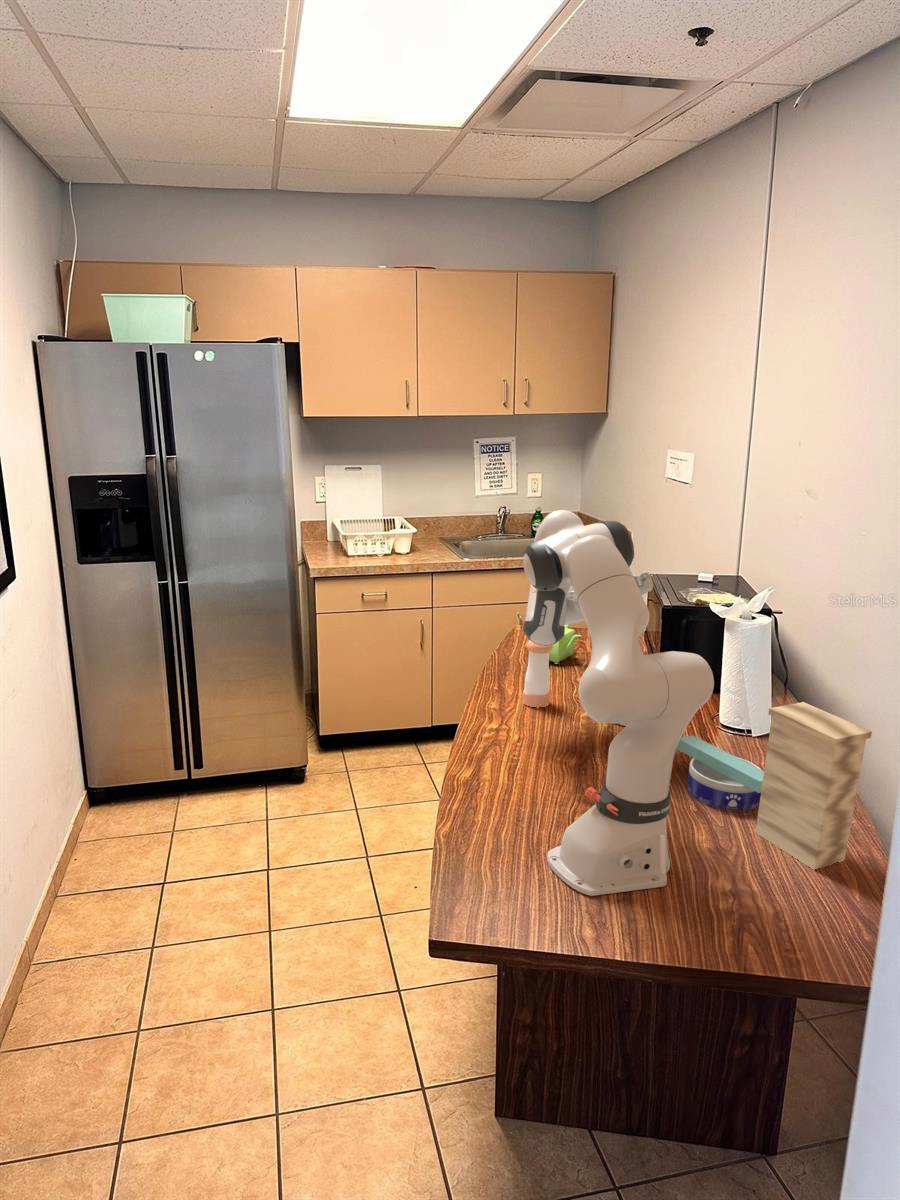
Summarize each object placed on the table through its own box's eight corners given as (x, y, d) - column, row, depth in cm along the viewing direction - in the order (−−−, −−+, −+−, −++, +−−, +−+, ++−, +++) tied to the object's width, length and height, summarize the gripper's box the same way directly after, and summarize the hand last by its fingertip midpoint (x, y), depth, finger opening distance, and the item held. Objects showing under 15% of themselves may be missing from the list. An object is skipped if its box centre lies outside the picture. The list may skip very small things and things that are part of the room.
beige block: (814, 872, 147) (836, 739, 141) (751, 831, 160) (769, 708, 154) (848, 861, 151) (871, 731, 145) (784, 823, 164) (803, 701, 158)
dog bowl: (748, 779, 183) (752, 755, 181) (771, 814, 168) (775, 787, 167) (680, 775, 184) (682, 751, 182) (696, 809, 169) (699, 783, 167)
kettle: (567, 651, 268) (570, 618, 265) (582, 666, 254) (585, 631, 251) (523, 653, 265) (525, 619, 262) (536, 667, 251) (539, 632, 248)
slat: (758, 793, 164) (759, 781, 163) (676, 748, 183) (677, 738, 183) (773, 788, 166) (775, 777, 166) (690, 744, 186) (692, 734, 185)
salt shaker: (518, 705, 220) (522, 637, 216) (527, 696, 227) (531, 630, 222) (544, 710, 218) (549, 641, 213) (552, 701, 224) (557, 634, 219)
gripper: (558, 584, 192) (590, 566, 180) (628, 579, 201) (663, 561, 189) (564, 610, 191) (596, 594, 179) (634, 603, 200) (669, 587, 188)
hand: (631, 577), depth 184 cm, fingers open, 8 cm apart
